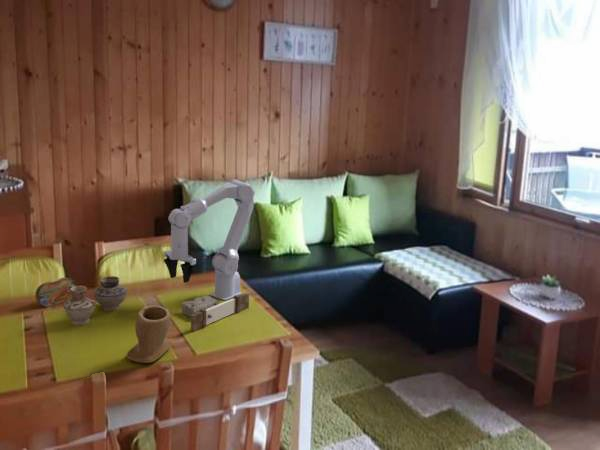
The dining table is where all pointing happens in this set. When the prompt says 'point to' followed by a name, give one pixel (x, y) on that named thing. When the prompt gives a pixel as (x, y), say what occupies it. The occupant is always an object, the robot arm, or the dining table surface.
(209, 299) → the stone
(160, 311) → the stone cup
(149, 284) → the dining table surface
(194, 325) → the wooden plank
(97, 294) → the pottery
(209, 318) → the door
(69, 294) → the tin
